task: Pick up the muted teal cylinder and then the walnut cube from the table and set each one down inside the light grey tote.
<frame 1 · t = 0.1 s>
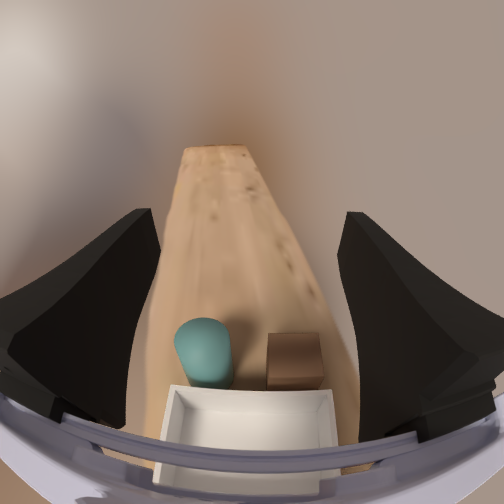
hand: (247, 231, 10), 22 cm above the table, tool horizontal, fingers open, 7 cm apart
tote: (248, 462, 20), on the table
teal cylinder: (210, 375, 28), on the table
walnut cube: (289, 378, 27), on the table
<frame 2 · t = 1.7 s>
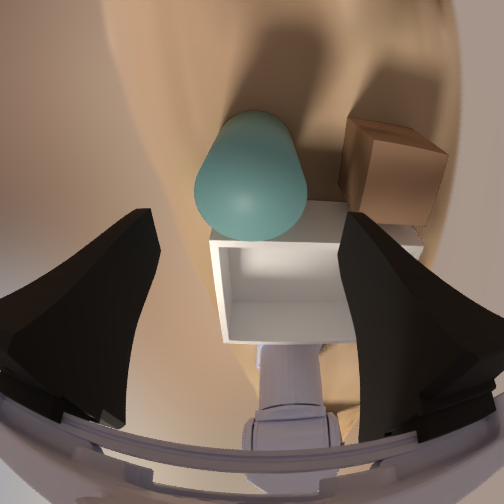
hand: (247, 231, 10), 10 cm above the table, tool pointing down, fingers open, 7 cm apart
tote: (306, 259, 23), on the table
teal cylinder: (254, 146, 17), on the table
walnut cube: (375, 155, 17), on the table
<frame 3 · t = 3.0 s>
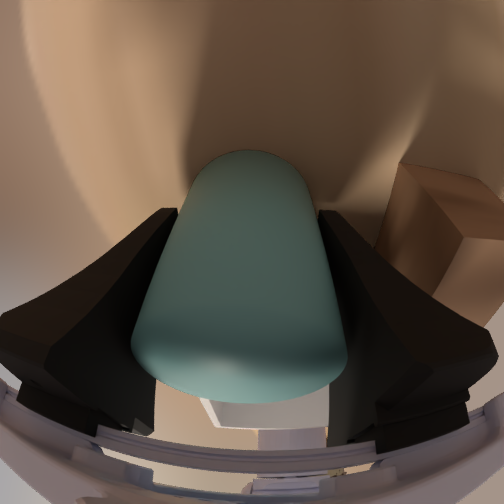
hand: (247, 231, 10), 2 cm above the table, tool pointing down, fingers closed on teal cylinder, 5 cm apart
tote: (317, 338, 17), on the table
teal cylinder: (249, 207, 11), on the table, touching gripper
walnut cube: (427, 216, 11), on the table
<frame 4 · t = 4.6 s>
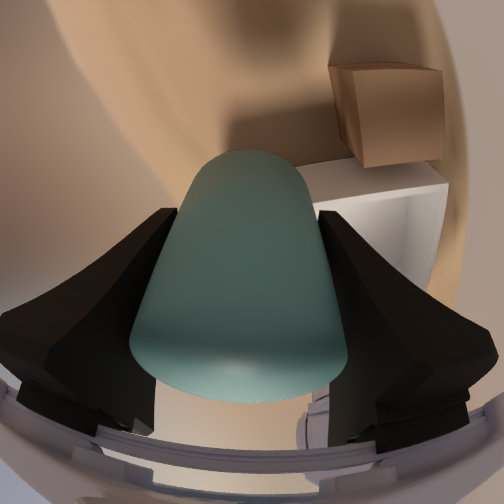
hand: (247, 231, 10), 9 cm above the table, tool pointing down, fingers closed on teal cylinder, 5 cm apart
tote: (330, 229, 21), on the table
teal cylinder: (249, 206, 11), point 8 cm above the table, touching gripper
walnut cube: (370, 98, 14), on the table
when the fingers open (4 cm above the table, at t = 6.6 s): teal cylinder drops 2 cm, resting on tote.
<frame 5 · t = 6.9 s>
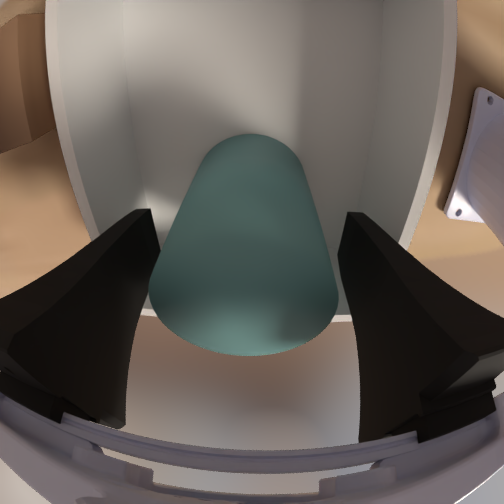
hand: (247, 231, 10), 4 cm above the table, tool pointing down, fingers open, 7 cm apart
tote: (251, 121, 11), on the table
teal cylinder: (251, 185, 12), point 1 cm above the table, touching tote
walnut cube: (56, 73, 9), on the table
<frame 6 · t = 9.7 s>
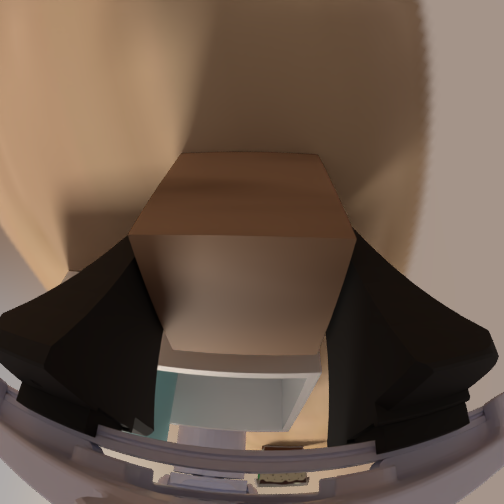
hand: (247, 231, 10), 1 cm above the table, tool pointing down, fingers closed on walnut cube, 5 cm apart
food container: (278, 447, 50), on the table
tote: (190, 337, 18), on the table
teal cylinder: (148, 339, 17), resting on tote
walnut cube: (249, 210, 11), on the table, touching gripper
when the fingers open (4 cm above the table, at t = 13.3 s): walnut cube drops 2 cm, resting on tote.
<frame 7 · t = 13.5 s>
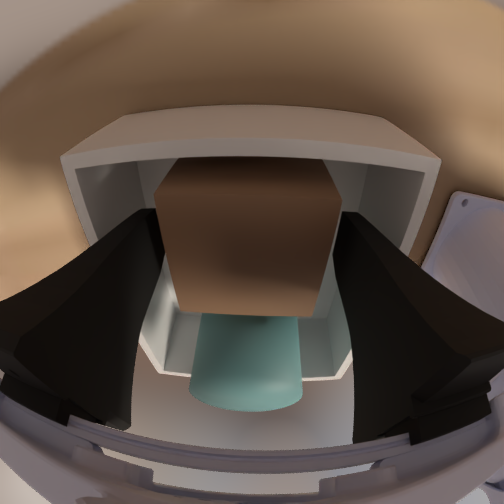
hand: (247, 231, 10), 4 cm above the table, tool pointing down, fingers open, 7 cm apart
tote: (251, 238, 15), on the table
teal cylinder: (251, 282, 16), resting on tote
walnut cube: (251, 190, 12), resting on tote
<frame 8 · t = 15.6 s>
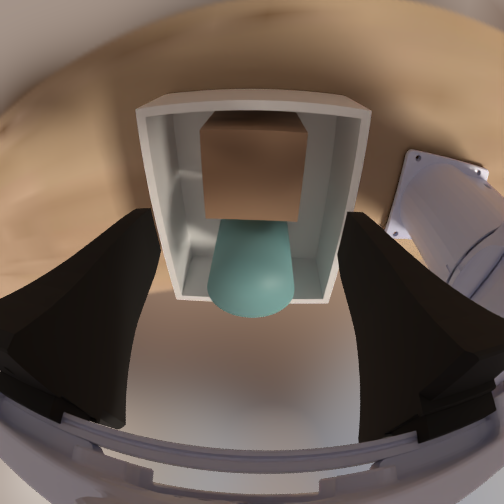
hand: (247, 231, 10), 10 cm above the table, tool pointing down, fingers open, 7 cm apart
tote: (254, 184, 20), on the table
teal cylinder: (253, 222, 21), resting on tote
walnut cube: (254, 146, 17), resting on tote
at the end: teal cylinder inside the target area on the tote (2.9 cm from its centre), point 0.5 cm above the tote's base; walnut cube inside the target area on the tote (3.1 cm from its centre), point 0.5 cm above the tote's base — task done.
